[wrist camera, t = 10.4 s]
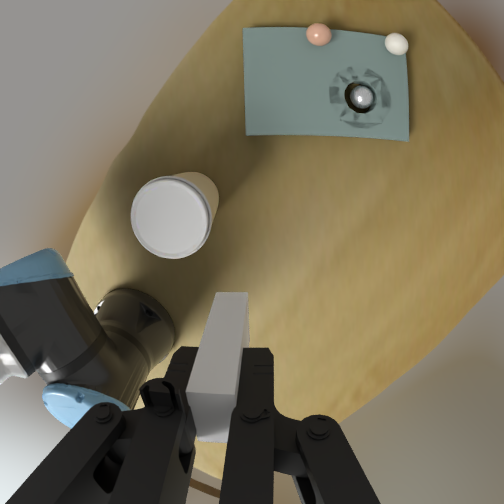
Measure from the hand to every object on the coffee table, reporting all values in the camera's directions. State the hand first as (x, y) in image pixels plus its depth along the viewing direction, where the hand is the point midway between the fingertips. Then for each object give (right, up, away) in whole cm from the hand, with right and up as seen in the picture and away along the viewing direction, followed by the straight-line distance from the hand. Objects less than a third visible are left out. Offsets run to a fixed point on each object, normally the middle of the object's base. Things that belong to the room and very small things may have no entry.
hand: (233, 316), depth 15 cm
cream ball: (+20, +30, +16) cm, 39 cm away
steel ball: (+15, +24, +21) cm, 35 cm away
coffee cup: (-7, +11, +29) cm, 32 cm away
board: (+11, +26, +22) cm, 36 cm away
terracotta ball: (+9, +30, +16) cm, 35 cm away
